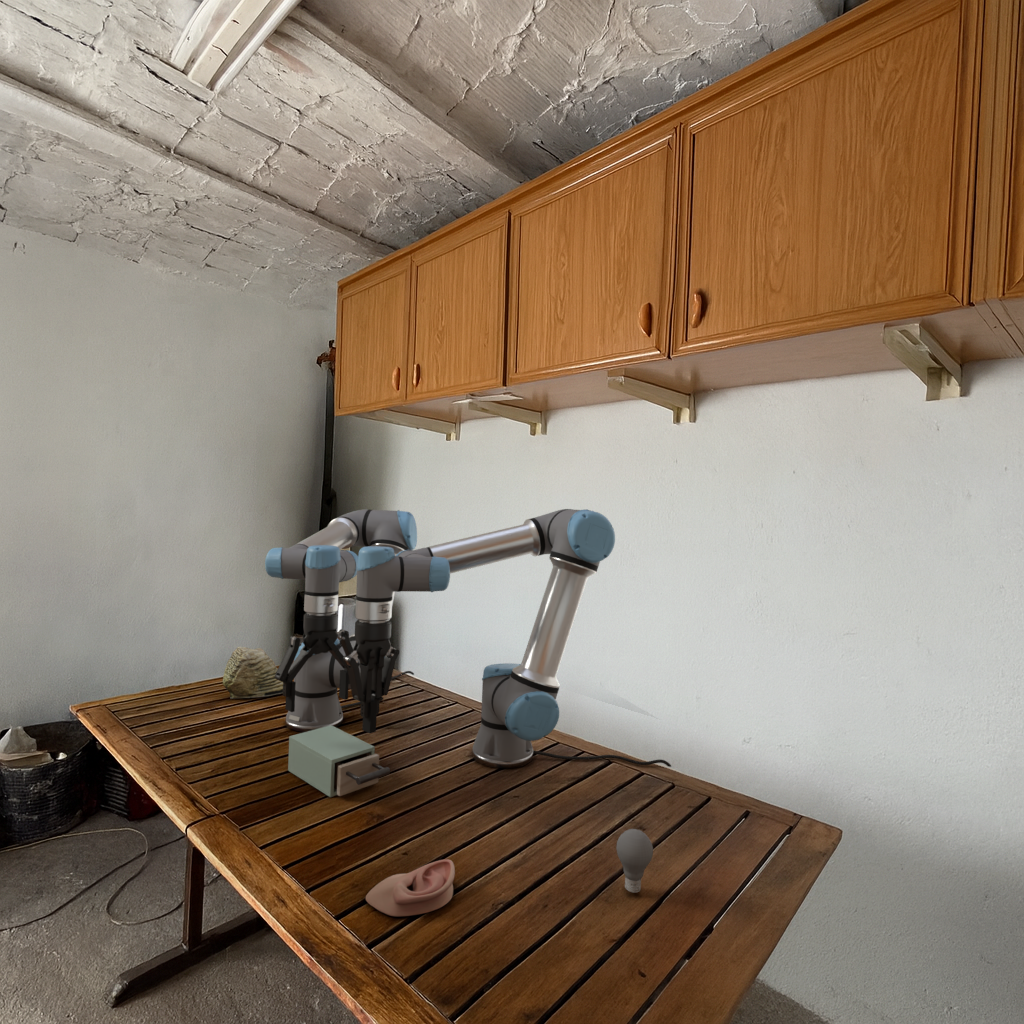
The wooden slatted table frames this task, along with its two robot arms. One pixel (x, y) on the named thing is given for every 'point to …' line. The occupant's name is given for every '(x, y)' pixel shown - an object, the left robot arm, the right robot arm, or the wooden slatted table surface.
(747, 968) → the wooden slatted table surface
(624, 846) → the light bulb
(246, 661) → the fossil
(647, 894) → the wooden slatted table surface
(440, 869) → the anatomical model
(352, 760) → the drawer
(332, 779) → the cabinet
